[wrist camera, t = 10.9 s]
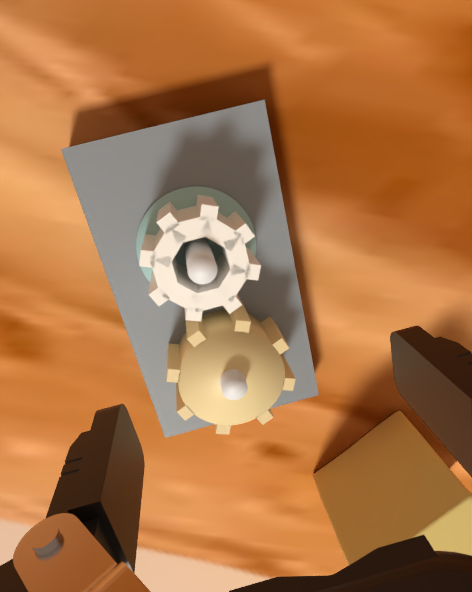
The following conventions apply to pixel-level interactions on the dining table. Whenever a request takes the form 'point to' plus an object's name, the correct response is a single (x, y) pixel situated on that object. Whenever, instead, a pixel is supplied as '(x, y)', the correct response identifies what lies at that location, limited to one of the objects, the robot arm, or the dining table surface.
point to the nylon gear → (174, 278)
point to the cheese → (394, 493)
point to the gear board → (187, 163)
